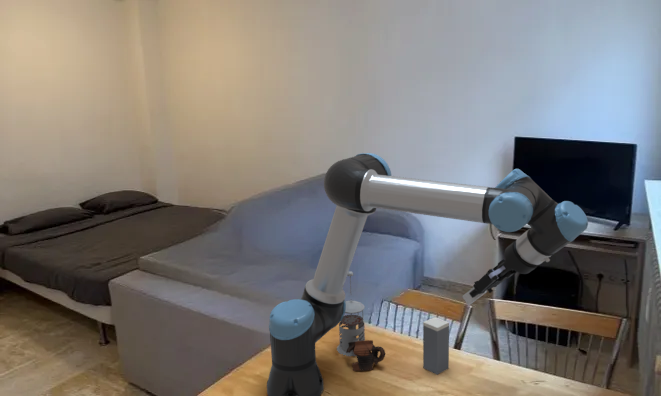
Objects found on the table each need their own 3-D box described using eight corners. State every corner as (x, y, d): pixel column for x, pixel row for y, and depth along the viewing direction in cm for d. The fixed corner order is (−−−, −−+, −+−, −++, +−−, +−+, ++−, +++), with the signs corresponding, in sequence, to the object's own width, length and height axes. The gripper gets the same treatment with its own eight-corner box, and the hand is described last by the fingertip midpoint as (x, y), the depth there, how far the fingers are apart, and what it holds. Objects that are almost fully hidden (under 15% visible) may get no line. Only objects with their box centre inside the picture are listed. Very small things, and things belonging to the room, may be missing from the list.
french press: (331, 352, 162) (328, 274, 157) (347, 336, 172) (345, 262, 167) (360, 359, 158) (358, 279, 152) (375, 342, 168) (374, 266, 162)
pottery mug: (342, 372, 151) (340, 342, 154) (355, 371, 160) (353, 343, 162) (382, 368, 147) (379, 338, 149) (393, 368, 155) (390, 338, 158)
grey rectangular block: (423, 367, 152) (423, 322, 149) (434, 361, 155) (435, 316, 152) (437, 374, 148) (437, 327, 145) (448, 368, 151) (449, 322, 148)
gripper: (521, 273, 117) (459, 320, 133) (553, 259, 125) (490, 305, 141) (501, 244, 120) (442, 294, 136) (533, 233, 128) (474, 281, 144)
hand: (466, 299), depth 138 cm, fingers closed
